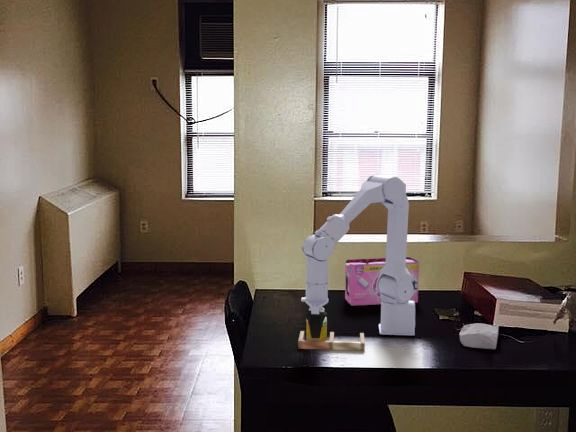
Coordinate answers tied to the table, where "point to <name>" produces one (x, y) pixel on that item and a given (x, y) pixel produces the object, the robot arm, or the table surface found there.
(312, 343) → the e-shaped wooden frame
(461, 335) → the stone block
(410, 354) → the table surface
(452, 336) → the table surface
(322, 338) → the supplement bottle
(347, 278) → the gum box
